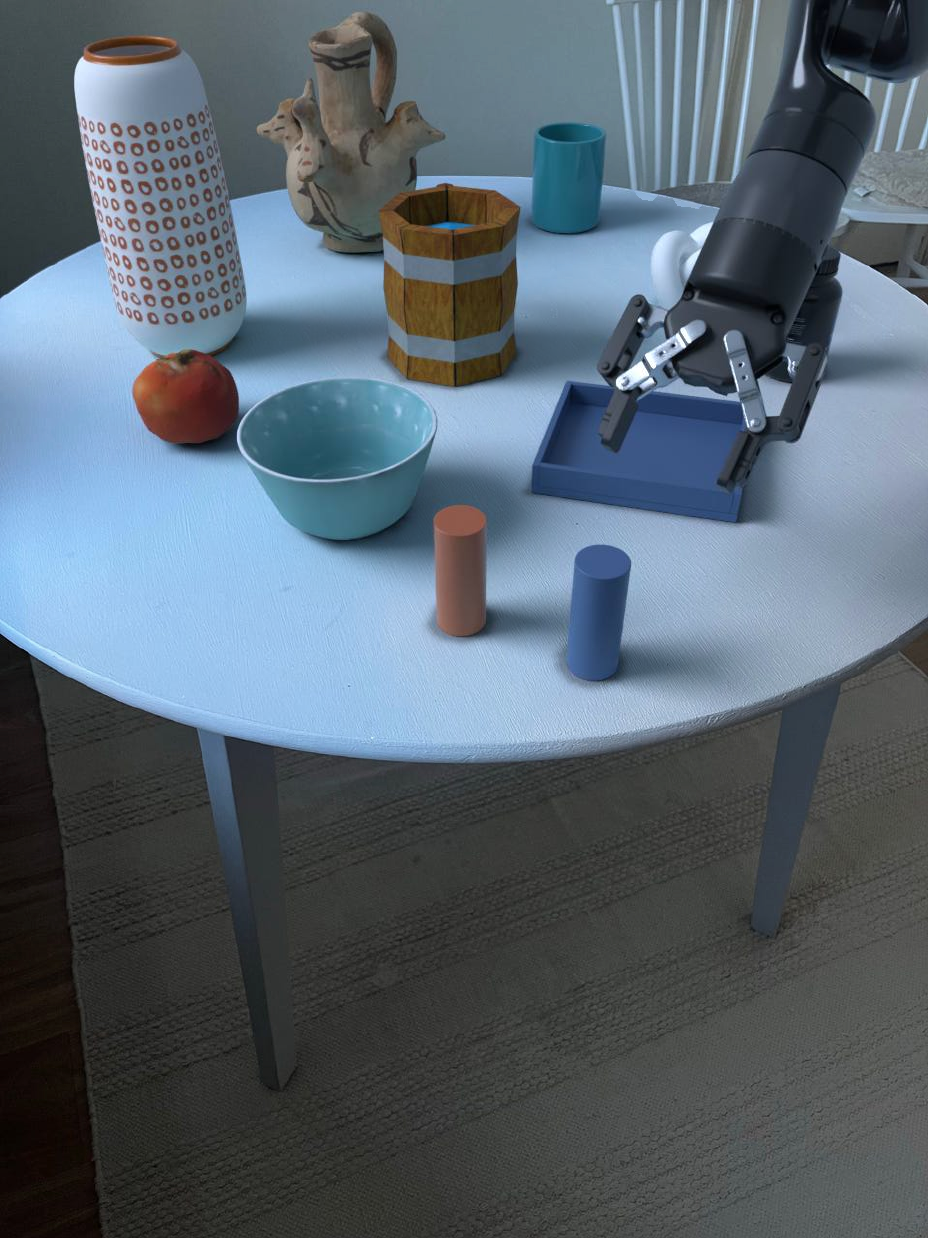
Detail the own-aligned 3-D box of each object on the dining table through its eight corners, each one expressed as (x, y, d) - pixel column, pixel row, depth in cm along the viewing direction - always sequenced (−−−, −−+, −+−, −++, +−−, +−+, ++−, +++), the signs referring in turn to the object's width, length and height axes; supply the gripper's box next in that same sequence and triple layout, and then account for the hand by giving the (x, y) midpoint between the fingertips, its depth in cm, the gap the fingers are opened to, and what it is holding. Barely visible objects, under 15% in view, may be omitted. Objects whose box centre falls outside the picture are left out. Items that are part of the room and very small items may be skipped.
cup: (601, 204, 138) (608, 116, 131) (597, 236, 129) (605, 144, 122) (535, 201, 139) (539, 114, 132) (527, 233, 130) (531, 141, 123)
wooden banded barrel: (522, 384, 100) (528, 233, 90) (387, 389, 99) (377, 237, 90) (505, 301, 115) (508, 163, 105) (387, 305, 114) (378, 167, 104)
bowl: (265, 584, 77) (249, 494, 71) (241, 475, 88) (225, 390, 83) (462, 547, 80) (461, 459, 74) (414, 447, 91) (410, 364, 86)
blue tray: (746, 429, 93) (752, 402, 91) (736, 522, 82) (742, 494, 80) (564, 406, 97) (566, 380, 95) (531, 492, 86) (532, 464, 84)
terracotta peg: (491, 608, 74) (492, 508, 68) (478, 640, 72) (479, 539, 66) (444, 600, 75) (442, 501, 69) (430, 631, 72) (426, 531, 67)
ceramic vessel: (267, 229, 132) (238, 10, 115) (402, 207, 138) (393, -4, 121) (311, 281, 119) (286, 44, 103) (457, 255, 125) (455, 26, 109)
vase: (162, 384, 100) (91, 72, 82) (105, 338, 108) (28, 43, 90) (276, 345, 107) (235, 47, 88) (215, 304, 115) (165, 22, 96)
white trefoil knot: (692, 349, 106) (705, 265, 100) (615, 310, 113) (622, 229, 107) (765, 320, 111) (781, 239, 105) (686, 285, 118) (697, 207, 112)
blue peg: (621, 650, 71) (635, 548, 65) (613, 685, 68) (627, 582, 62) (571, 641, 72) (580, 540, 66) (561, 675, 69) (570, 573, 63)
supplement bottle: (837, 376, 101) (868, 258, 93) (780, 389, 99) (807, 270, 91) (796, 348, 106) (822, 233, 98) (741, 359, 104) (763, 243, 96)
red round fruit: (126, 430, 94) (105, 351, 89) (213, 398, 98) (198, 321, 93) (173, 471, 89) (154, 390, 83) (263, 436, 93) (250, 356, 88)
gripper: (655, 193, 66) (554, 419, 67) (869, 239, 60) (756, 488, 61) (680, 247, 73) (588, 452, 74) (875, 294, 67) (773, 518, 67)
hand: (664, 468), depth 67 cm, fingers open, 8 cm apart
